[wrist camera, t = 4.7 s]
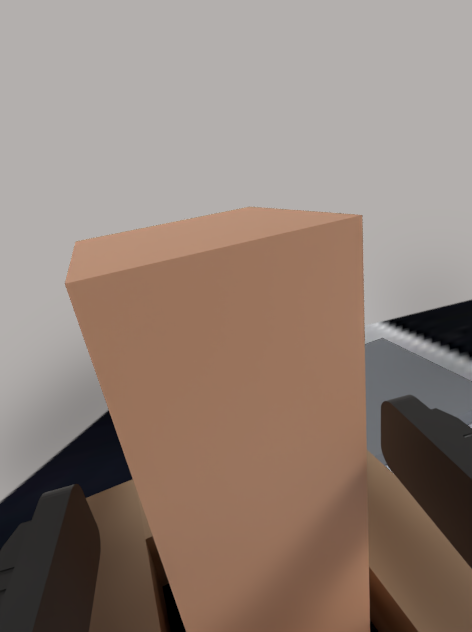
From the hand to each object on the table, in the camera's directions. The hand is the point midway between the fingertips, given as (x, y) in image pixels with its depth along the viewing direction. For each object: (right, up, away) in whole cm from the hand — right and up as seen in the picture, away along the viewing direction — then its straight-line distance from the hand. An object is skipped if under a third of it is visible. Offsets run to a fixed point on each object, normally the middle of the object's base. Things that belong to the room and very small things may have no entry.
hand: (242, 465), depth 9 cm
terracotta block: (+1, -8, +4) cm, 9 cm away
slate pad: (+10, -2, +16) cm, 19 cm away
